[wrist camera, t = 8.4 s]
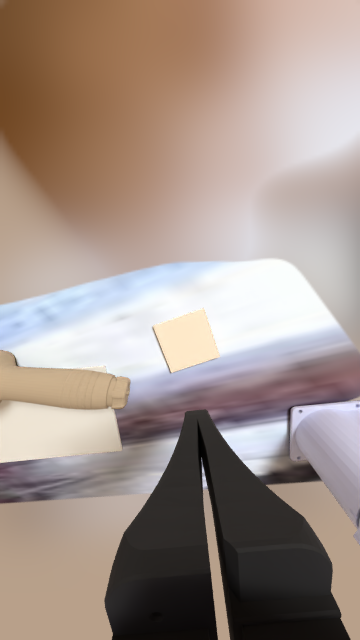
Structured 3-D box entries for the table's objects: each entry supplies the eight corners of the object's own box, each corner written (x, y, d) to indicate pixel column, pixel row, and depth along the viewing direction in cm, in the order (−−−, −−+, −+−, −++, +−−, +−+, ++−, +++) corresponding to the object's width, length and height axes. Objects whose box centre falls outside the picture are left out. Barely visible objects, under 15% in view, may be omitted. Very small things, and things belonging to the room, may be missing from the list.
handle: (129, 362, 19) (-29, 346, 18) (117, 432, 17) (-59, 420, 16) (135, 363, 23) (11, 351, 22) (126, 419, 22) (-9, 408, 20)
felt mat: (105, 365, 22) (104, 366, 21) (122, 448, 24) (121, 450, 24) (-59, 382, 22) (-62, 383, 22) (-25, 463, 24) (-28, 465, 24)
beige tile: (202, 307, 21) (204, 308, 20) (218, 353, 22) (220, 356, 21) (154, 324, 21) (152, 326, 20) (171, 368, 22) (171, 372, 22)
